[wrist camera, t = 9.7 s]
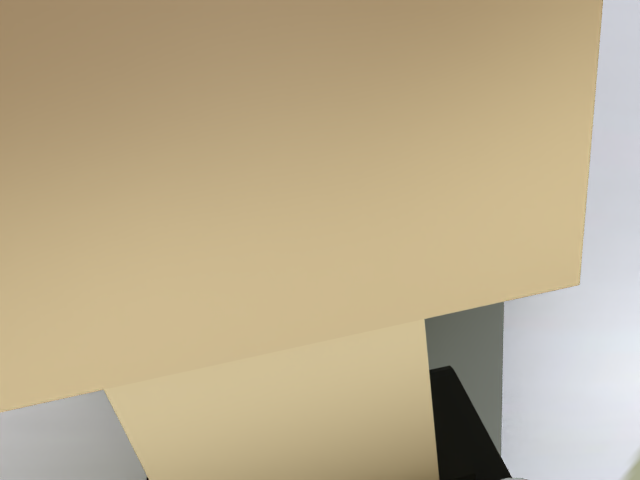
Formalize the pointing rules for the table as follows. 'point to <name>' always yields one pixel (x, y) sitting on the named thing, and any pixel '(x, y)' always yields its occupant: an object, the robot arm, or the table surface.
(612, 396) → the table surface
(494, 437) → the rest mat
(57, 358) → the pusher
